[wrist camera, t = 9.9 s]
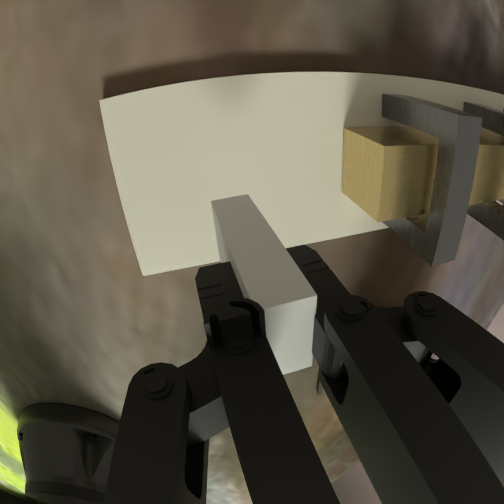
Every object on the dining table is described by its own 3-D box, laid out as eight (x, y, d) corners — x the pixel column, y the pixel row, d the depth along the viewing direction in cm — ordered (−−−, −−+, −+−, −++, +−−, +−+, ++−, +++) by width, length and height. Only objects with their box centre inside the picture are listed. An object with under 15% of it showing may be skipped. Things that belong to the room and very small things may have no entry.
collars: (374, 215, 22) (431, 266, 16) (382, 93, 17) (458, 115, 12) (504, 193, 24) (551, 225, 19) (517, 111, 19) (571, 134, 14)
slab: (143, 267, 21) (143, 276, 20) (103, 98, 15) (99, 100, 14) (500, 199, 26) (507, 203, 25) (516, 97, 20) (524, 100, 19)
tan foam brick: (341, 194, 20) (379, 227, 16) (343, 125, 17) (388, 144, 14) (511, 175, 23) (544, 195, 19) (518, 132, 21) (554, 148, 17)
